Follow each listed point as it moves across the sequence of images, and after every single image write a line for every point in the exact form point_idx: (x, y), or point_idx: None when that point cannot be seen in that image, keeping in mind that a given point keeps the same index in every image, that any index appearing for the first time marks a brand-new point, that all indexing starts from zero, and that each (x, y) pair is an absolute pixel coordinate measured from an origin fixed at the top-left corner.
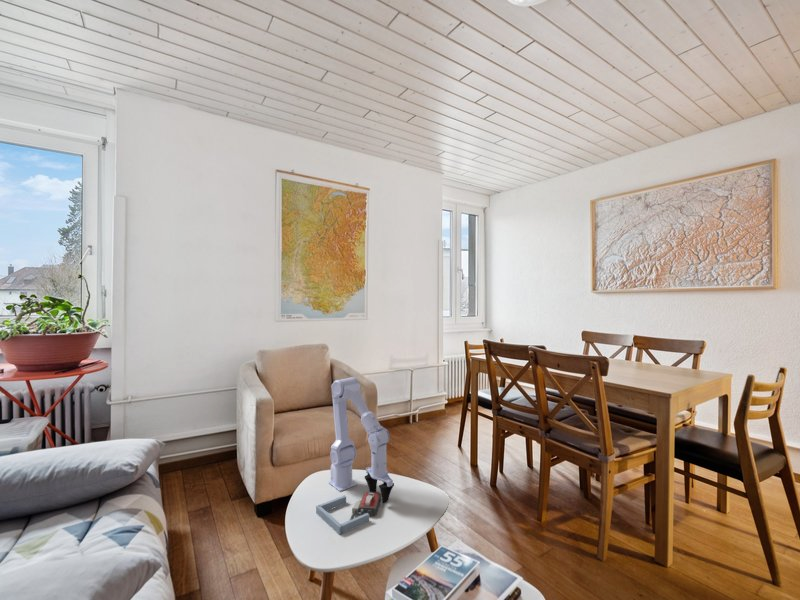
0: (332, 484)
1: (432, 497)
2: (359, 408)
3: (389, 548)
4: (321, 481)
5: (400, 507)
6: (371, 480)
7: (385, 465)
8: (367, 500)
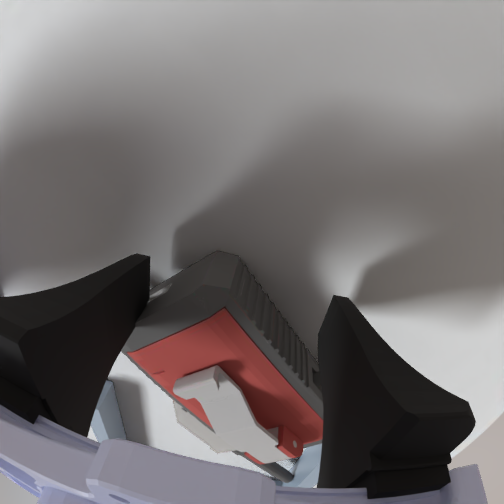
0: None
1: None
2: None
3: (471, 441)
4: None
5: (443, 237)
6: (83, 394)
7: None
8: (268, 458)
